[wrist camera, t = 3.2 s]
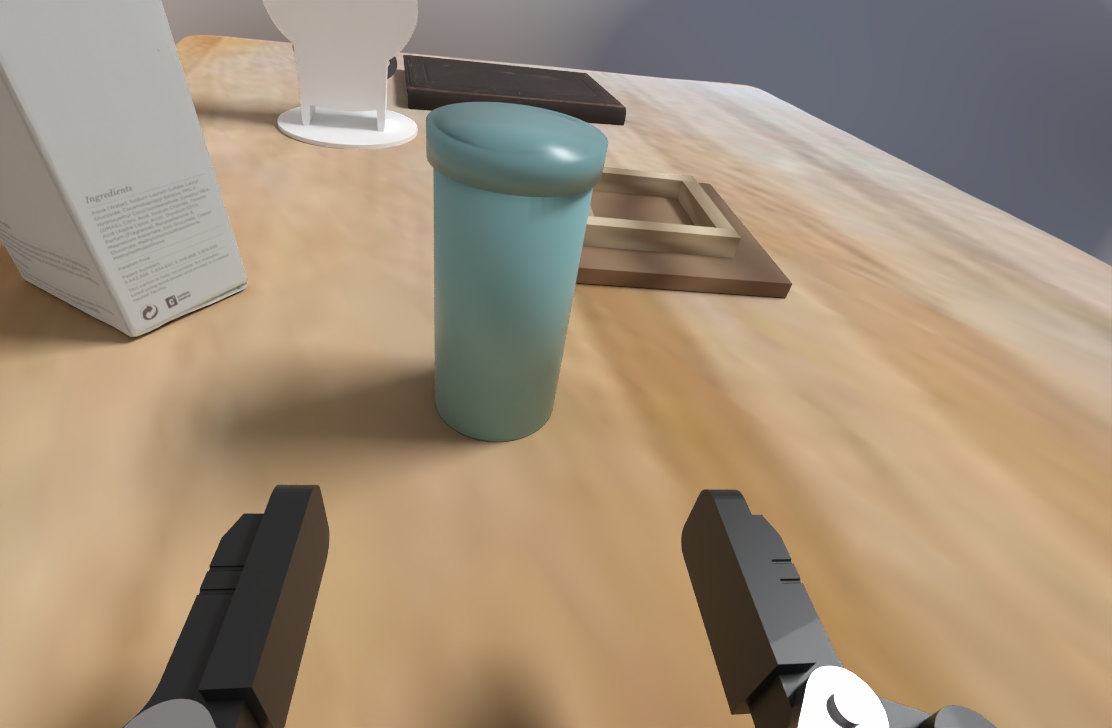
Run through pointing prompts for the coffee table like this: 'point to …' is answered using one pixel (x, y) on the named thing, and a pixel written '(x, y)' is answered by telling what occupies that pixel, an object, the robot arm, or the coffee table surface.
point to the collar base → (671, 238)
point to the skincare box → (108, 165)
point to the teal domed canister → (506, 258)
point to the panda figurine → (345, 70)
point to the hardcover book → (508, 88)
